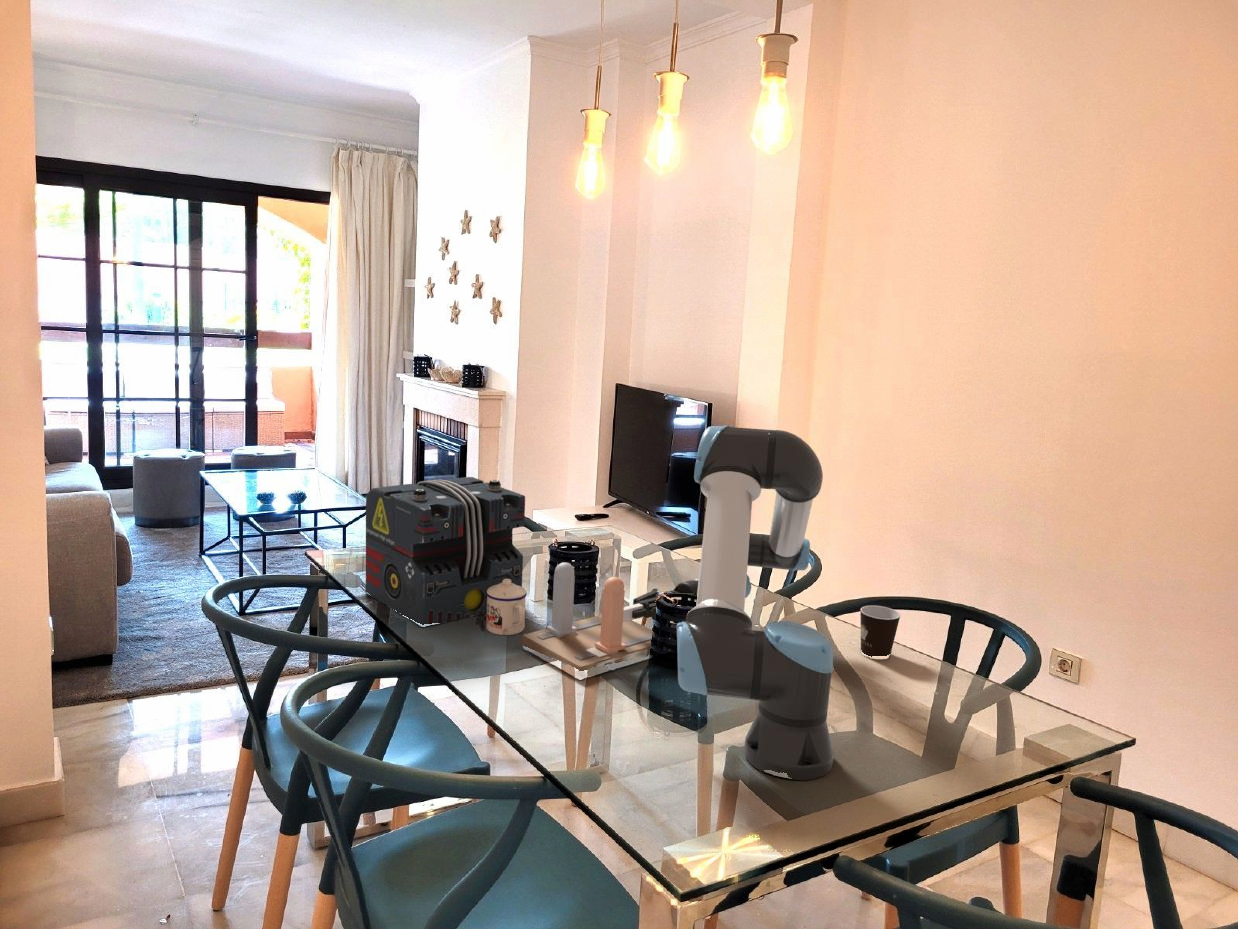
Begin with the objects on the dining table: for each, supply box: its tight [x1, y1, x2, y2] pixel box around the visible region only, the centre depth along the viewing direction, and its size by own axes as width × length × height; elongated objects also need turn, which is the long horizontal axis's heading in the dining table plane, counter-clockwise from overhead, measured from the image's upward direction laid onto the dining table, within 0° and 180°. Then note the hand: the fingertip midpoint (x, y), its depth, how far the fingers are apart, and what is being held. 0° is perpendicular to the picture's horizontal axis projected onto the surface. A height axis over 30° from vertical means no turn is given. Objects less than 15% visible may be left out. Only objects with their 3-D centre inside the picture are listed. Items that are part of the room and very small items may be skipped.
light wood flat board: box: [521, 614, 653, 671], centre depth 202 cm, size 26×20×3 cm
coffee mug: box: [859, 605, 901, 657], centre depth 210 cm, size 12×9×10 cm
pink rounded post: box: [595, 576, 627, 654], centre depth 194 cm, size 5×4×16 cm
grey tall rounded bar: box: [546, 561, 577, 636], centre depth 202 cm, size 5×4×16 cm
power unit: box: [365, 476, 526, 625], centre depth 225 cm, size 28×28×30 cm
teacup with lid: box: [485, 579, 527, 636], centre depth 210 cm, size 12×9×12 cm
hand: (617, 616), depth 196 cm, fingers closed
